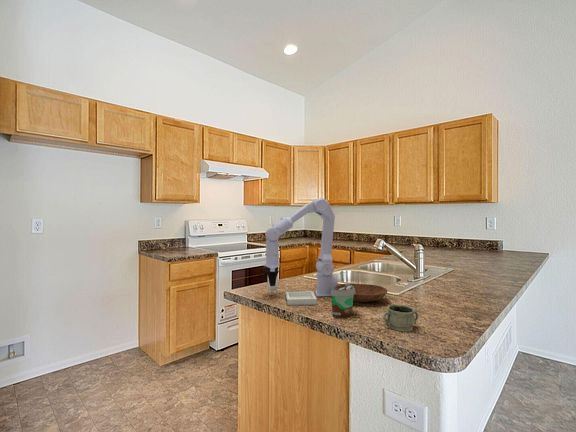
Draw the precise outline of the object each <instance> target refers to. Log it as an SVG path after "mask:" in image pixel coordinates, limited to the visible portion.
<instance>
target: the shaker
mask: <svg viewBox="0 0 576 432" xmlns="http://www.w3.org/2000/svg"><path fill="white" fill-rule="evenodd" d="M267 291H270V292H276V291H278V277H277V278H276V284H275V286H270V283H269V277H268V276H267Z"/></svg>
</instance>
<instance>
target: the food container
mask: <svg viewBox="0 0 576 432" xmlns="http://www.w3.org/2000/svg"><path fill="white" fill-rule="evenodd" d="M344 284H345V286H344V287H340V288H338V289H337V290H332V289H331V296H330V297H331V309H332V310H331V311H332V313H331V314H332V317H335V318H348V317H351V316H352V315H353V305H354V301H353V295H354V294H355V289H354V286H352V285H350V284H351V283H344Z"/></svg>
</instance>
